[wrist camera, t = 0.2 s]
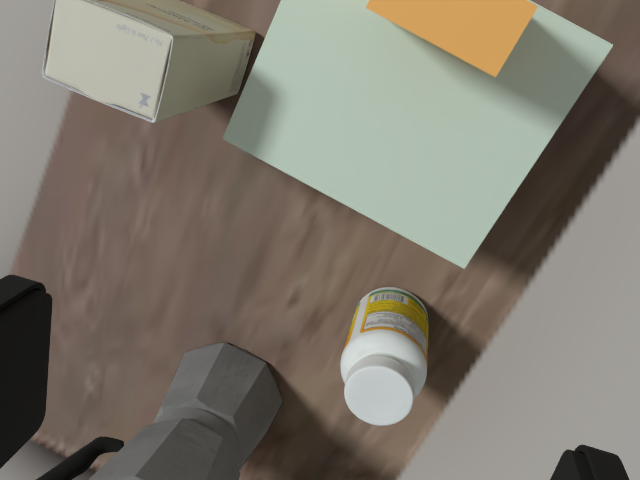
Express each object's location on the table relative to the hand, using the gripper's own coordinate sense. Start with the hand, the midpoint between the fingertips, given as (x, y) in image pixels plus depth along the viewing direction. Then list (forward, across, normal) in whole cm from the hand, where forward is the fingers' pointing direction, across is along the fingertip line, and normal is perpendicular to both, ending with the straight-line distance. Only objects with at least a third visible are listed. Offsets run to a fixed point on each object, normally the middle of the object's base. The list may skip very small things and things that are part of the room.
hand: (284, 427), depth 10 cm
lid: (+23, 0, -4) cm, 23 cm away
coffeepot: (+30, +9, +23) cm, 39 cm away
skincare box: (+30, +13, -3) cm, 33 cm away
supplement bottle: (+30, -3, +13) cm, 33 cm away
